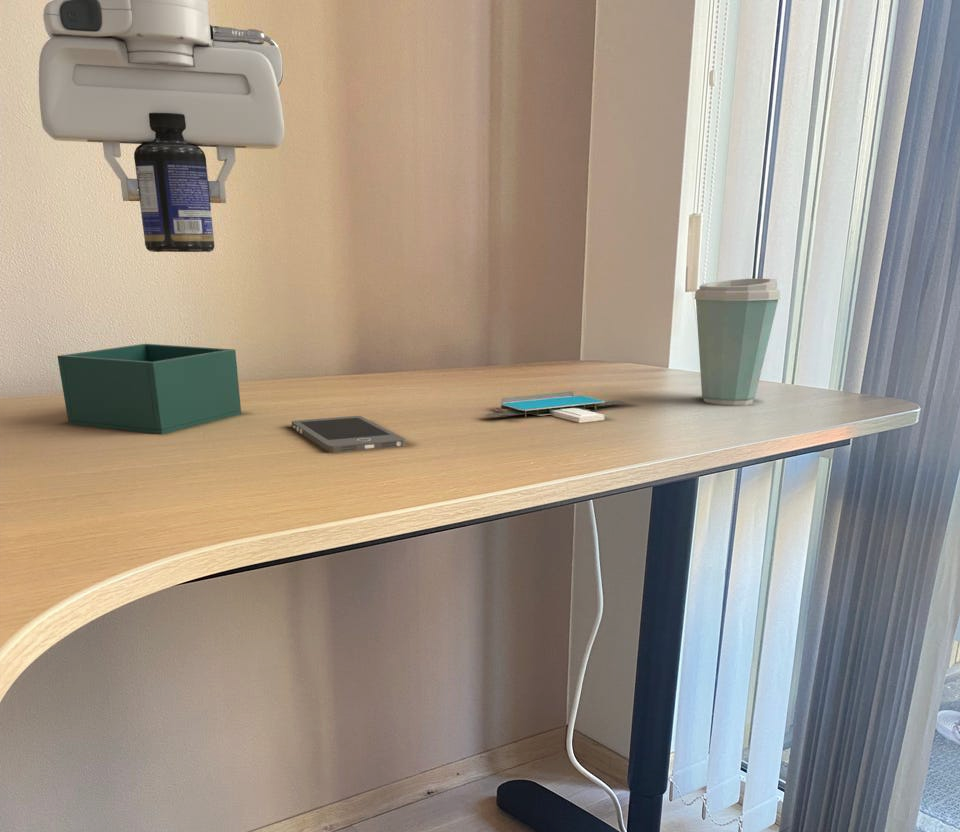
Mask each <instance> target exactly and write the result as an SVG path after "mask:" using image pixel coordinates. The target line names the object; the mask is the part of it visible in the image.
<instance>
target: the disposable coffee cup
mask: <svg viewBox="0 0 960 832" xmlns="http://www.w3.org/2000/svg"><path fill="white" fill-rule="evenodd" d="M693 299H694V300H695V309H696V322H697V325H696V326H697V340H698V353H699V354H698V355H699V372H700V386H701V397H703V402H705V403H707V404H713V405H720V406H747V405H751V404H753V401H754V399H755V398H756V395H757V391H758V387H759V383H760V378H761V375H762V374H761V373H762V370H763V366H764V361H765V356H766V353H767V349H768V344H769V341H770V336H771V332H772V328H773V323H774V321H775V320H774V319H775V316H776V311H777V307H778V302H779V300H781V290H780V289H779V288H778V279H777V278H741V279H739V278H738V279H729V280H721V281H713V282H708V283H702V284H700V285H699V288H698V289H696V290H695V292H694V298H693Z"/></svg>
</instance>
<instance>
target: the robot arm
mask: <svg viewBox="0 0 960 832" xmlns="http://www.w3.org/2000/svg"><path fill="white" fill-rule="evenodd" d="M209 9H210V8H209V0H51V1H49V2H47V3H46V4H45V6H44V8H43V13H42V15H43V17H42V18H43V24H44V28H45V32H46V33H47V35H48V37H49V39H48V40H47V41H45V43H44V44H43V46H42V48H41V51H40V54H39V61H38V98H39V112H40V119H41V125H42V126H41V127H42V129H43V131H44V133H46V134H47V135H48V136H49V137H50V138H51V139H53V141H57V142H77V143H78V142H79V143H100V144H101V143H102V150H103V156H104V159H105V160H106V162H107V163H108V165H109V167H110V168H111V169H112V171H113V173H114V174H115V175H116V177H117V179H118V180H119V181H120V188H121V197H122V201H123V202H140V193H139V191H138V188H139V185H138V179H137V178H130V177H128V175H127V174H126V172H125V171H124V169H123V168H122V166H121V165H120V163H119V162H118V160H117V158H121V157H122V152H121V144H126V145H127V144H129V145H131V144H132V145H141V144H143V142H151V141H153V140H154V139H155V134H156V133H155V132H154V131H152V130H151V127H150V123H149V113H178V114H184V115H185V122H186V129H185V130H184V131H183V132H182V135H183V137H184V140H185V141H186V142H187V143H189V144H194V145H196V146H198V147H200V148H201V147H203V148H205V147H207V148H216V158H217V161H218V162H223V164H222V166H221V167H220V170H219V173H218V175H217V177H216V179H215V180H208V188H209V199H210V204H226V203H227V193H226V192H227V191H226V181H227V180H228V178H229V176H230V174H231V171H232V169H233V167H234V165H235V163H236V150H235V149H253V150H255V149H256V150H275V149H277V148H278V147H280V145H281V144H282V142H283V141H284V139H285V135H286V134H285V132H286V131H285V121H284V113H283V107H282V106H283V105H282V101H281V94H280V90H279V87H280V86H281V84H282V81H283V78H284V77H283V76H284V68H283V56H282V55H283V54H282V52H281V49H280V47H279V45H278V43H276V42H275V40H274V39H272V38H271V37H269V36H268V35H264V32H263V31H262V30H259V29H254V28H247V29H238V28H234V27H227V26H218V25H212V24H211V21H210V20H211V19H210V10H209ZM265 42H266V43H268V44H265Z"/></svg>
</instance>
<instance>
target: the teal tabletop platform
mask: <svg viewBox="0 0 960 832" xmlns="http://www.w3.org/2000/svg"><path fill="white" fill-rule="evenodd" d="M623 403H625V401H624V400H618V399H617V400H610V401H609V400H608V401H605V400H603V399H598V398H594V397H590V396H585V395H574V391H573V390H572V391H564V392H554V393H553V392H551V393H542V394H541V393H540V394H531V395H522V396H521V395H520V396H511V397H501V399H500V401H499V404H500V408H497V407H496V408H494V410H495V411H496V413H486V414H484V415H485V416H488V417H493V418H494V417H501V416H508V417H509V416H519V415H525V416H524V417H525V418H527V414H528V415H535V416H537V417H541V416H542V417H543V416H552V417H557V418H560V419H563V420H567V421H572V422H575V423H579V424H580V423H581V424H582V423H589V422H598V421H605V414H603V413H599V412H595V411H591V410H590V409H588V408H594V410H597V407H602V406H611V405H612V406H613V405H614V404H623Z"/></svg>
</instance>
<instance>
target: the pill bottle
mask: <svg viewBox="0 0 960 832" xmlns="http://www.w3.org/2000/svg"><path fill="white" fill-rule="evenodd" d="M149 123H150V127H151V130H152V131H154V132H155V133H156V134H155V139H154V140H153V141H151V142H143V144H138V146H137V147H135V150H134V152H133V159H134V166H135V174H136V179H138V185H139V188H138V192H139V193H140V201H139V207H140V213H141V215H140V216H141V222H142V230H143V237H144V246H145V249H146V250H147V251H149V252H151V253H152V252H153V253H166V252H167V253H204V252H207V253H211V252H213V251H214V250H215V237H214V228H213V217H212V206H211V203H210V199H209V188H208V181H209V177H208V167H207V158H206V154H205V152H204V151H203V149H202V148H201V146H196V145H194V144H189V143H187V142H186V141H185V140H184V137H183V135H182V132H183V131H184V130H185V129H186V122H185V115H184V114H178V113H149Z"/></svg>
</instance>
